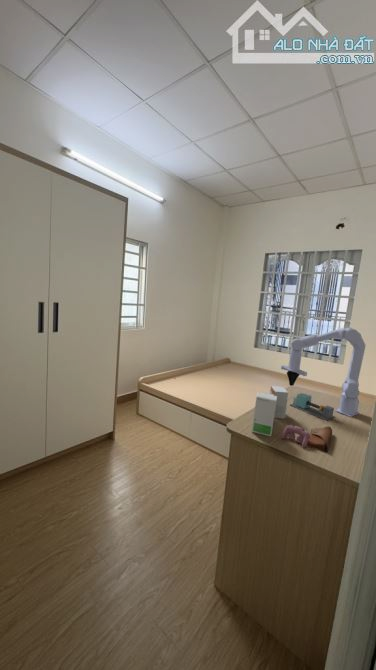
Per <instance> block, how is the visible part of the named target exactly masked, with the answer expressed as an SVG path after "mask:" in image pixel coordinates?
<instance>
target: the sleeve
mask: <svg viewBox="0 0 376 670" xmlns="http://www.w3.org/2000/svg"><path fill="white" fill-rule="evenodd" d="M296 396H297V398H296V406H299V407H301V408H304V409H305V408H308V407H311V406H310V405H307V401H308V402H311V403H312V395H311V394H307V393H304V392H300V393H298V394H296Z"/></svg>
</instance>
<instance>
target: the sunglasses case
mask: <svg viewBox="0 0 376 670" xmlns="http://www.w3.org/2000/svg"><path fill="white" fill-rule="evenodd" d="M309 435H310V438H309V440H308V443H307V445H306V447H309V448H313V449H316V450H319V451H321V452H324V453H327V452H328V450H329V448H330V447H329V446H330V442H331V439H332V436H333V429H332V427H331V426H325V427H318V428H317V427H315V428H311V431H310V433H309Z"/></svg>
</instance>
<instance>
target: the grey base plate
mask: <svg viewBox="0 0 376 670" xmlns="http://www.w3.org/2000/svg"><path fill="white" fill-rule="evenodd" d="M289 406H290V407H293V408H296V409H298V410H300V411H302V412H305V413H307V414H310V415H312V416H314V417H317V418H319V419H322V420H324V421H329V420H332V419H335V417H336V416H334V415H333V417H332V418H329V419H327V418H325V417H323V416H322V412H321V411H319V409H317V408H315V407H312V406H310V407H308V408H305V409H304V408H301V407H299V406H296V405H295V404H293V403H290V404H289Z"/></svg>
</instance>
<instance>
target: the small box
mask: <svg viewBox="0 0 376 670" xmlns="http://www.w3.org/2000/svg"><path fill="white" fill-rule="evenodd" d="M269 394H274V396H277V403H276V409H275V416H274V419H277V418H278V419H286V413H287V404H288V399H289V397H288V396H289V392H288V390H287V389H286V388H285V387H284V386H278V385H271V386H270V390H269Z"/></svg>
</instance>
